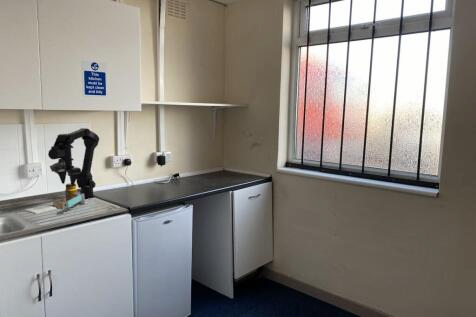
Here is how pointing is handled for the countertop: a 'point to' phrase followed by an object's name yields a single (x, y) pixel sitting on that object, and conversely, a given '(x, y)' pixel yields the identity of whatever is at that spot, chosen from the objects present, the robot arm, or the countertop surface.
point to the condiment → (71, 193)
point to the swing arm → (73, 201)
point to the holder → (61, 203)
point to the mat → (40, 209)
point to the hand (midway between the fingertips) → (67, 184)
